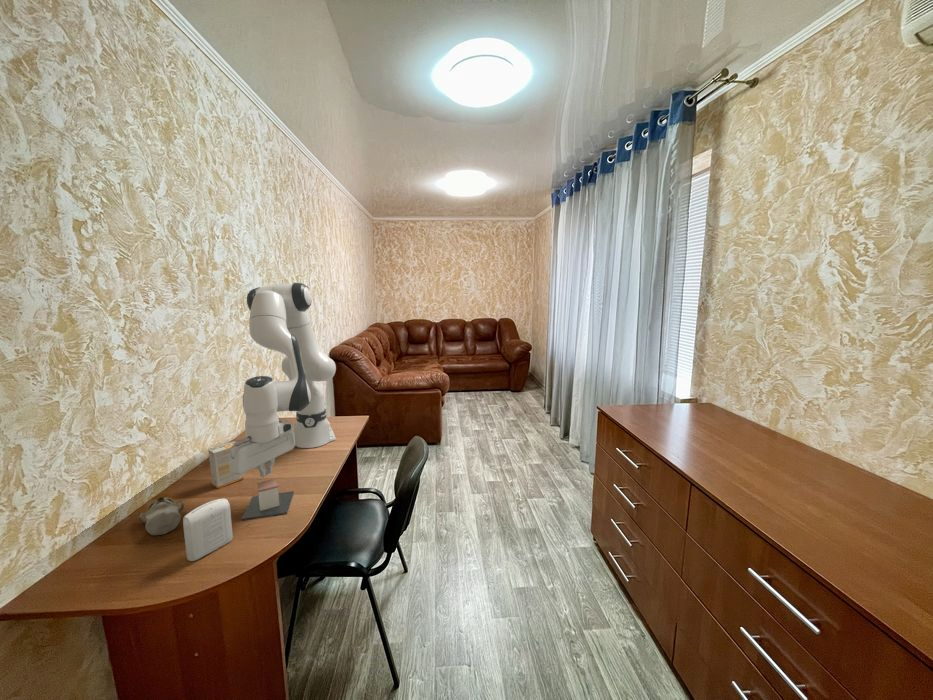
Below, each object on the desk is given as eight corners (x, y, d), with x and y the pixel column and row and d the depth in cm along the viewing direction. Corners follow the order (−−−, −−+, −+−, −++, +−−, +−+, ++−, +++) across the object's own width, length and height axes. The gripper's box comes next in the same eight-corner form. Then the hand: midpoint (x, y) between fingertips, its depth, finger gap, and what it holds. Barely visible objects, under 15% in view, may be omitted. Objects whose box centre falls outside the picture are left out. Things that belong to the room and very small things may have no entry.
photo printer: (227, 534, 99) (222, 492, 97) (236, 539, 97) (232, 496, 95) (183, 558, 90) (177, 512, 88) (192, 564, 88) (187, 517, 86)
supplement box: (237, 475, 131) (234, 440, 129) (244, 479, 128) (240, 444, 126) (211, 484, 124) (207, 448, 122) (217, 489, 121) (213, 452, 119)
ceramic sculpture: (135, 515, 93) (134, 494, 104) (139, 547, 94) (137, 523, 105) (187, 500, 100) (181, 482, 111) (190, 529, 101) (184, 509, 112)
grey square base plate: (253, 497, 117) (251, 480, 116) (294, 492, 120) (292, 475, 119) (241, 520, 105) (239, 501, 104) (287, 513, 109) (285, 495, 108)
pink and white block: (259, 502, 113) (257, 482, 112) (277, 497, 116) (276, 478, 115) (260, 510, 109) (258, 490, 108) (279, 505, 112) (278, 485, 111)
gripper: (238, 446, 98) (242, 493, 100) (297, 421, 117) (299, 462, 119) (221, 442, 100) (225, 489, 102) (282, 419, 119) (284, 459, 121)
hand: (266, 474), depth 111 cm, fingers closed
